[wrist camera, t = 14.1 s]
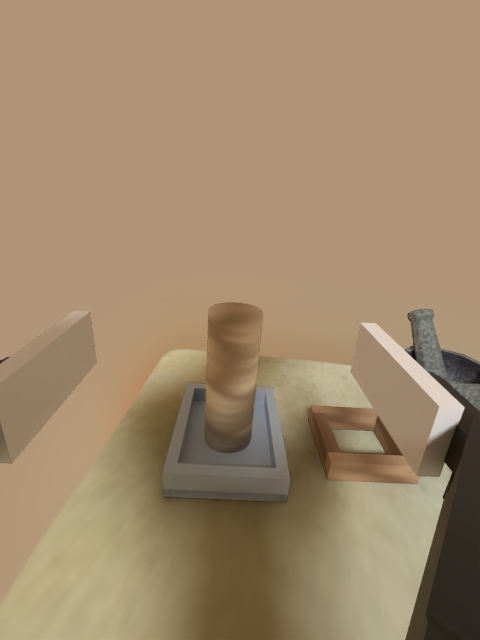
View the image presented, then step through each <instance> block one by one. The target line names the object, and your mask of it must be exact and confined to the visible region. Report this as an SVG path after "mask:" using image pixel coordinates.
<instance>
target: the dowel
mask: <svg viewBox="0 0 480 640" xmlns="http://www.w3.org/2000/svg"><path fill="white" fill-rule="evenodd" d="M208 313H209V314H208V340H207V370H206V400H205V430H204V438H205V442H206V443H207V445H208V446H209V447H211V448H212V449H214V450H216V451H218V452H222V453H235V452H239V451H241V450H243V449H245V448H246V447H247V446H248V445H249V444H250V441H251V435H252V424H253V414H254V403H255V393H256V383H257V372H258V362H259V351H260V341H261V330H262V320H263V311H262V310H261V309H259V308H258V307H255V306H252V305H248V304H243V303H219V304H215V305H213V306H211V307H210V308H209V311H208Z"/></svg>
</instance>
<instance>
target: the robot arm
mask: <svg viewBox="0 0 480 640" xmlns="http://www.w3.org/2000/svg"><path fill="white" fill-rule="evenodd" d="M96 362H97V359H96V352H95V344H94V337H93V329H92V322H91V314H90V312H89V311H87V312H86V311H73V312H72V313H70V314H69V315H68V316H66V317H65V318H63V319H62V320H61V321H59V322H58V323H57V324H55V325H54V326H53V327H51V328H50V329H48V330H47V331H45V332H44V333H43V334H41V335H40V336H38V337H37V338H36V339H34V340H33V341H32V342H30V343H29V344H27V345H26V346H25V347H23V348H22V349H20V350H19V351H18V352H16V353H15V354H13V355H12V356H11V357H7V358H5V359H3V360H0V463H13V462H14V461H15V459H16V458H17V457H18V456H19V455H20V453H21V452H22V451H23V450H24V449H25V447H26V446H27V445H28V444H29V443H30V441H31V440H32V439H33V438H34V437H35V435H36V434H37V433H38V432H39V430H41V428H42V427H43V426H44V425H45V423H46V422H47V421H48V420H49V419H50V418H51V416H52V415H53V414H54V412H56V410H57V409H58V408H59V407H60V406H61V404H62V403H63V402H64V401H65V400H66V398H67V397H68V396H69V395H70V394H71V392H72V391H73V390H74V389H75V388H76V386H77V385H78V384H79V383H80V382H81V380H82V379H83V378H84V377H85V376H86V374H87V373H88V372H89V371H90V370H91V368H92V367H93V366H94V365H95V364H96ZM351 373H352V375H353V376H354V378H355V379H356V381H357V382H358V384H359V386H360V387H361V389H362V390H363V392H364V394H365V395H366V397H367V398H368V400H369V402H370V403H371V405H372V406H373V408H374V409H375V411H376V413H377V414H378V416H379V417H380V419H381V421H382V422H383V424H384V425H385V427H386V428H387V430H388V432H389V433H390V435H391V436H392V438H393V440H394V441H395V443H396V444H397V446H398V448H399V449H400V451H401V452H402V454H403V455H404V457H405V459H406V460H407V462H408V463H409V465H410V467H411V468H412V470H413V471H414V473H415V475H416V476H433V477H439V476H440V473H441V471H442V468H443V465H444V463H446V464H447V466H448V467H449V468H450V469H451V471H452V474H451V477H450V480H449V482H448V485H447V487H446V490H445V493H444V495H443V498H444V501H443V505H442V508H441V512H440V516H439V519H438V523H437V527H436V530H435V534H434V537H433V541H432V545H431V548H430V552H429V556H428V559H427V563H426V566H425V570H424V574H423V577H422V581H421V585H420V588H419V592H418V596H417V599H416V603H415V606H414V610H413V614H412V617H411V621H410V625H409V628H408V632H407V635H406V639H405V640H480V411H479V410H478V409H477V408H476V407H474V406H473V405H472V404H471V403H470V402H469V401H468V400H467V399H466V398H465V397H463V396H462V395H460V393H459V392H458V391H457V390H456V389H454V388H453V387H452V386H451V385H450V384H449V383H448V382H447V381H446V380H445V379H443V378H441V377H440V376H438V375H436V374H434V373H432V372H427V371H426V370H425V369H424V368H423V367H421V366H420V365H419V364H418V363H417V362H416V361H415V360H414V359H413V358H412V357H411V356H410V355H409V354H408V353H407V352H406V351H405V350H404V349H402V348H401V347H400V346H399V345H398V344H397V343H396V342H395V341H394V340H393V339H392V338H391V337H390V336H389V335H388V334H386V333H385V332H384V331H383V330H382V329H381V328H380V327H379V326H378V325H377V324H376V323H360V327H359V332H358V338H357V343H356V347H355V352H354V357H353V362H352V368H351Z"/></svg>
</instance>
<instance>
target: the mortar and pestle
mask: <svg viewBox="0 0 480 640" xmlns="http://www.w3.org/2000/svg"><path fill="white" fill-rule="evenodd" d="M433 316H434V313H433V310H431V309H419V310H415V311H412V312H410V313H408V319H409V320H410V322H411V327H412V337H413V345H414V346H411V347H409V348H407V349H405V351H406V352H407V353H408V354H409V355H410V356H411V357H412V358H413V359H414V360H415V361H416V362H417V363H418V364H419V365H420V366H421V367H423V368H424V369H425V370H426V371H427V372H432V373H434V374H436V375H438V376H440V377H441V378H443V379H445V380H446V381H447V382H448V383H449V384H450V385H451V386H452V387H453V388H454V389H456V390H457V391H458V392H459V393H460V395H462V396H463V397H465V398H466V399H467V400H468V401H469V402H470V403H471V404H472V405H473V406H474V407H476V408H477V409H478V410H479V411H480V362H478V361H476V360H474V359H472V358H470V357H468V356H466V355H464V354H460V353H456V352H452V351H448V350H444V349H440V347H439V343H438V339H437V335H436V332H435V328H434V324H433V320H432V319H433Z"/></svg>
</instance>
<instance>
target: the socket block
mask: <svg viewBox="0 0 480 640" xmlns="http://www.w3.org/2000/svg"><path fill="white" fill-rule="evenodd" d="M308 421H309V424H310V427H311V430H312V434H313V437H314V440H315V443H316V446H317V449H318V452H319V456H320V459H321V462H322V465H323V468H324V471H325V474H326V478H327V480H342V481H363V482H384V483H405V484H417V483H418V480H419V477H420V476H416V475H415V473H414V471H413V470H412V468H411V467H410V465H409V463H408V462H407V460H406V459H405V457H404V455H403V454H402V452H401V451H400V449H399V448H398V446H397V444H396V443H395V441H394V440H393V438H392V436H391V435H390V433H389V432H388V430H387V428H386V427H385V425H384V424H383V422H382V421H381V419H380V417H379V416H378V414H377V413H376V411H375V409H365V408H347V407H329V406H311V408H310V414H309V420H308ZM331 429H345V430H364V431H374V433H375V435H376V437H377V438H378V440H379V442H380V443H381V445H382V447H383V449H384V450H385V452H386V454H387V455H379V454H359V453H341V452H340V450H339V447H338V445H337V442H336V440H335V437H334V435H333V433H332V430H331Z"/></svg>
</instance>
